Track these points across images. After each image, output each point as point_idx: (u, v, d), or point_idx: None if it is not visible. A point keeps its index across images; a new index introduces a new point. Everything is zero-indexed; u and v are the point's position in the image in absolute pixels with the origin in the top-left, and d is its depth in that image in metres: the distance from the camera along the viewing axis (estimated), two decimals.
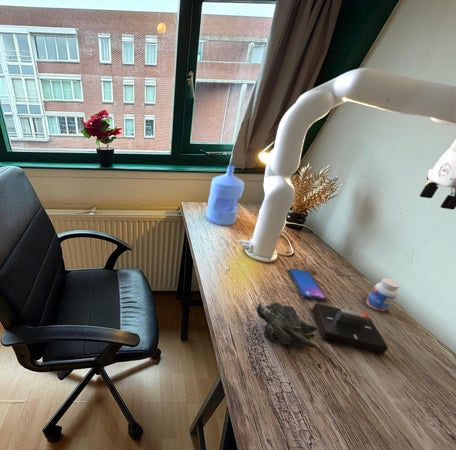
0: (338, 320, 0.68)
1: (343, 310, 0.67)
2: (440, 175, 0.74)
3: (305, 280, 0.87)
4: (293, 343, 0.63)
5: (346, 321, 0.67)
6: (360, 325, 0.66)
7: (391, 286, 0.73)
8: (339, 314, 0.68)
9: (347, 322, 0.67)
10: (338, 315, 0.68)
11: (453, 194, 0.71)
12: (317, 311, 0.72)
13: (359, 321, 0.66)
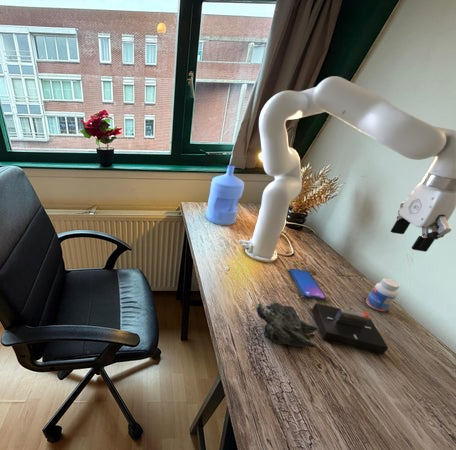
0: (338, 320, 0.68)
1: (343, 310, 0.67)
2: (411, 212, 0.66)
3: (305, 280, 0.87)
4: (293, 343, 0.63)
5: (346, 321, 0.67)
6: (360, 325, 0.66)
7: (391, 286, 0.73)
8: (339, 314, 0.68)
9: (347, 322, 0.67)
10: (338, 315, 0.68)
11: (424, 236, 0.63)
12: (317, 311, 0.72)
13: (359, 321, 0.66)
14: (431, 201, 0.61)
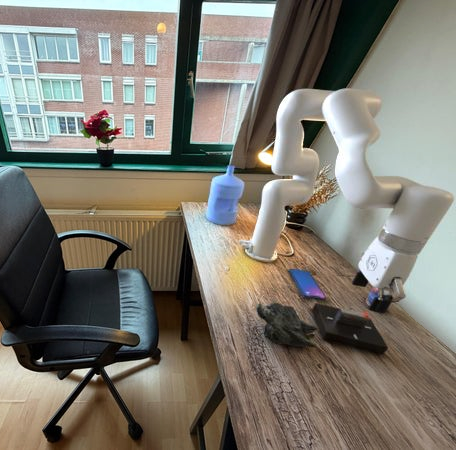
0: (338, 320, 0.68)
1: (343, 310, 0.67)
2: (368, 268, 0.60)
3: (305, 280, 0.87)
4: (293, 343, 0.63)
5: (346, 321, 0.67)
6: (360, 325, 0.66)
7: None
8: (339, 314, 0.68)
9: (347, 322, 0.67)
10: (338, 315, 0.68)
11: (380, 298, 0.56)
12: (317, 311, 0.72)
13: (359, 321, 0.66)
14: (386, 261, 0.55)
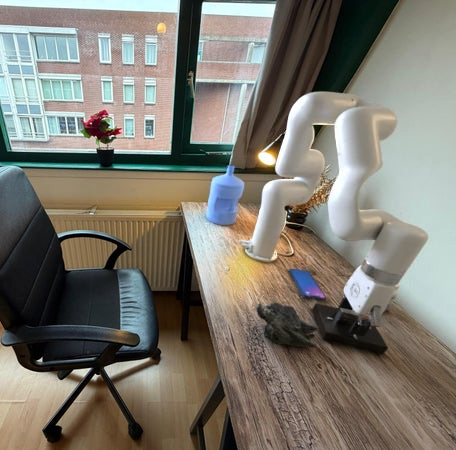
0: (338, 320, 0.68)
1: (343, 310, 0.67)
2: (352, 294, 0.64)
3: (305, 280, 0.87)
4: (293, 343, 0.63)
5: (346, 321, 0.67)
6: None
7: None
8: (339, 314, 0.68)
9: (347, 322, 0.67)
10: (338, 315, 0.68)
11: (359, 323, 0.61)
12: (317, 311, 0.72)
13: None
14: (367, 290, 0.59)
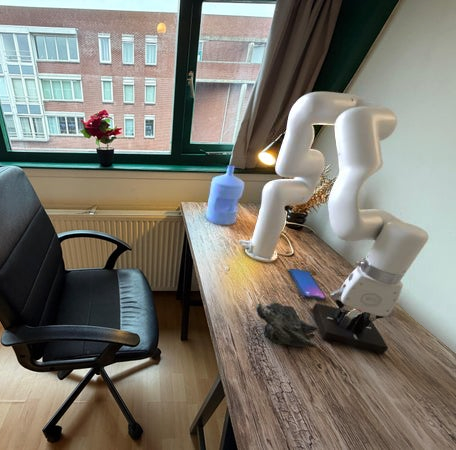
0: (346, 327, 0.66)
1: (350, 316, 0.65)
2: (367, 304, 0.61)
3: (305, 280, 0.87)
4: (293, 343, 0.63)
5: (351, 323, 0.66)
6: (357, 320, 0.68)
7: None
8: (346, 321, 0.65)
9: (351, 324, 0.67)
10: (345, 322, 0.66)
11: (373, 319, 0.64)
12: (317, 311, 0.72)
13: (358, 318, 0.67)
14: (394, 295, 0.58)
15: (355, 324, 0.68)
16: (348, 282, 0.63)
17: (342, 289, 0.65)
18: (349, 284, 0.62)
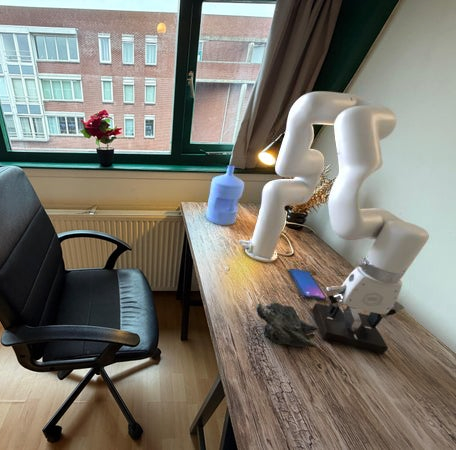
0: None
1: (358, 320, 0.64)
2: (368, 304, 0.61)
3: (305, 280, 0.87)
4: (293, 343, 0.63)
5: None
6: None
7: None
8: (356, 326, 0.64)
9: None
10: (355, 327, 0.64)
11: (385, 316, 0.63)
12: (317, 311, 0.72)
13: None
14: (394, 293, 0.58)
15: None
16: (349, 283, 0.62)
17: None
18: (351, 285, 0.62)
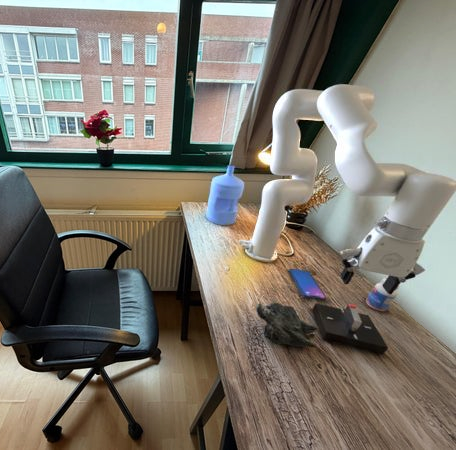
0: None
1: (358, 320, 0.64)
2: (386, 266, 0.57)
3: (305, 280, 0.87)
4: (293, 343, 0.63)
5: None
6: None
7: None
8: (356, 326, 0.64)
9: None
10: (355, 327, 0.64)
11: (403, 280, 0.59)
12: (317, 311, 0.72)
13: None
14: (416, 253, 0.54)
15: None
16: (366, 244, 0.58)
17: (358, 253, 0.60)
18: (368, 246, 0.57)
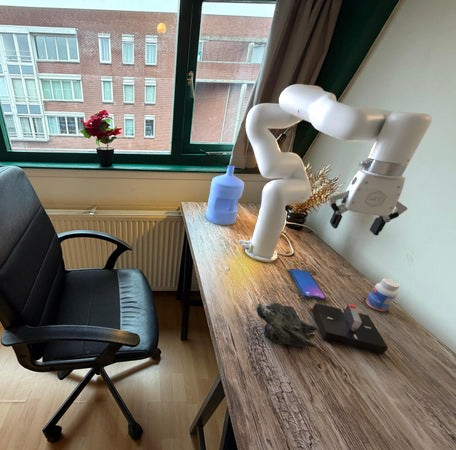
0: None
1: (358, 320, 0.64)
2: (371, 205, 0.61)
3: (305, 280, 0.87)
4: (293, 343, 0.63)
5: None
6: None
7: (391, 286, 0.73)
8: (356, 326, 0.64)
9: None
10: (355, 327, 0.64)
11: (388, 220, 0.63)
12: (317, 311, 0.72)
13: None
14: (397, 189, 0.58)
15: None
16: (352, 186, 0.62)
17: (345, 196, 0.64)
18: (354, 187, 0.62)
